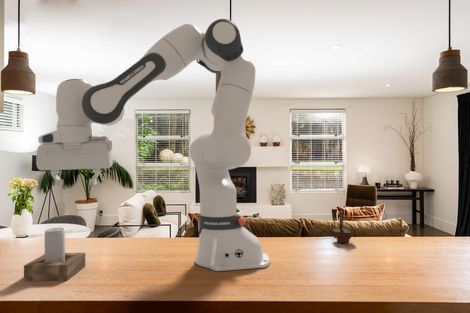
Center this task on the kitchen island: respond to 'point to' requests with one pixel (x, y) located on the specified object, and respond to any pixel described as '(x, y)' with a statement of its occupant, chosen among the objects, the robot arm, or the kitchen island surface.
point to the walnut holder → (54, 268)
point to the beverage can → (54, 245)
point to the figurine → (341, 231)
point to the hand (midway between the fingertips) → (76, 185)
